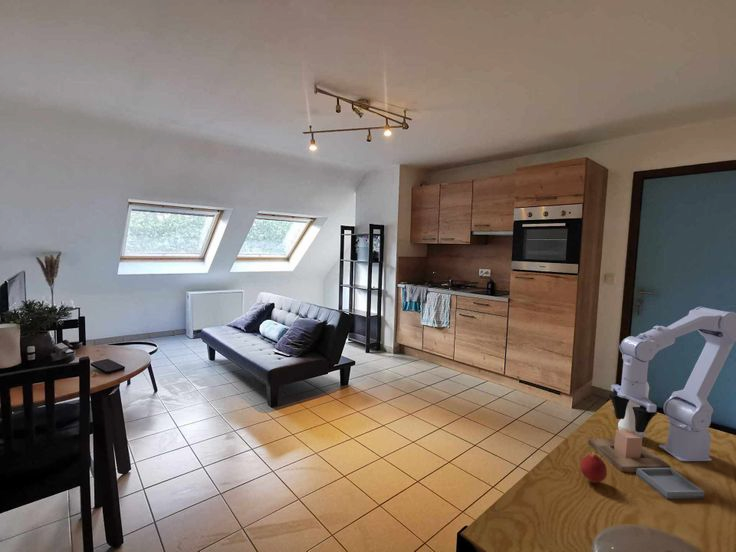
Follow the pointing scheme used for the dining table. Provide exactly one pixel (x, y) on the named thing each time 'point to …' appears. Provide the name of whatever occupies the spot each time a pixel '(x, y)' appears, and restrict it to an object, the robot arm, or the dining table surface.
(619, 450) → the block
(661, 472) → the tray
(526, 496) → the dining table surface
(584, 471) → the red pomegranate
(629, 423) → the water bottle
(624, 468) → the board
